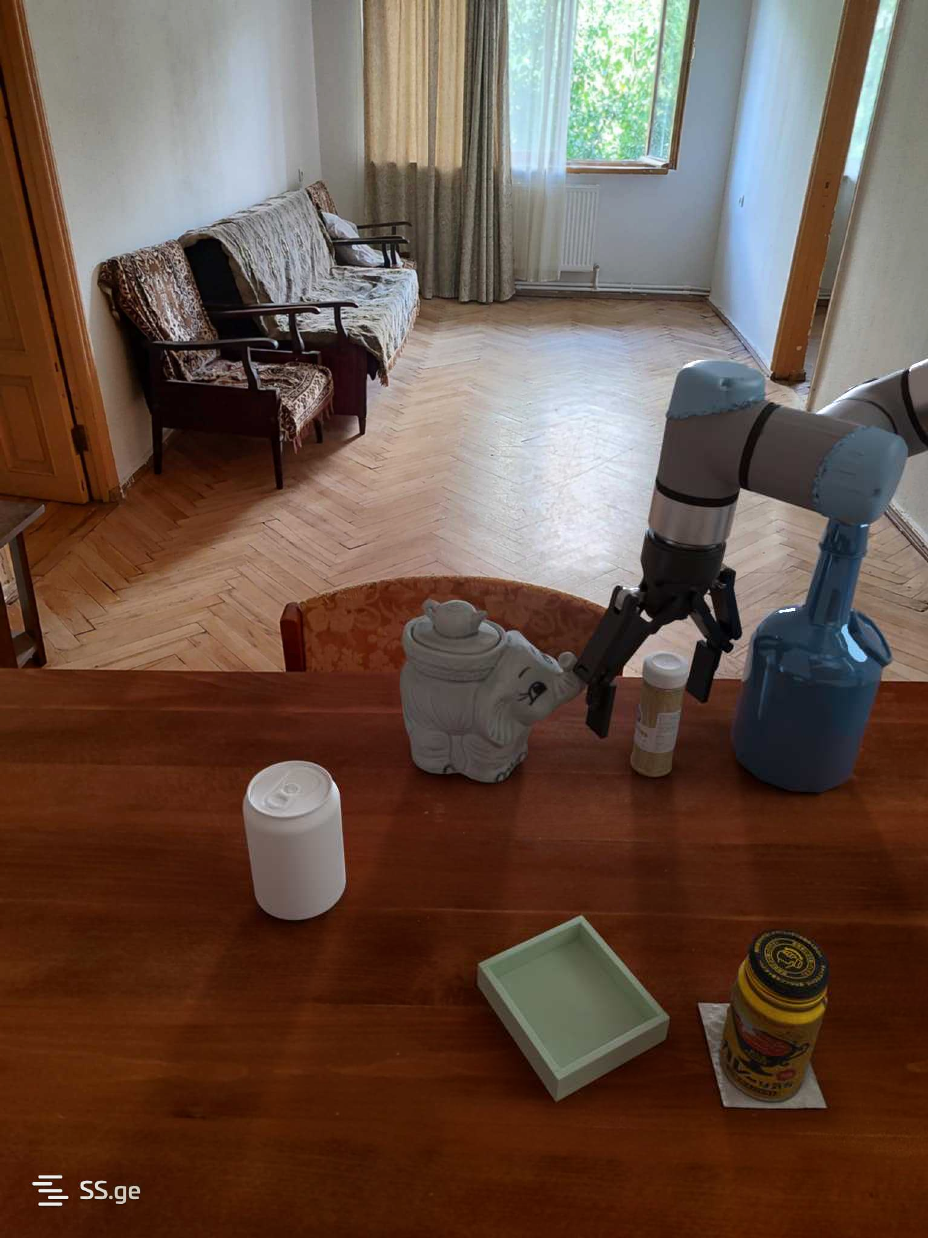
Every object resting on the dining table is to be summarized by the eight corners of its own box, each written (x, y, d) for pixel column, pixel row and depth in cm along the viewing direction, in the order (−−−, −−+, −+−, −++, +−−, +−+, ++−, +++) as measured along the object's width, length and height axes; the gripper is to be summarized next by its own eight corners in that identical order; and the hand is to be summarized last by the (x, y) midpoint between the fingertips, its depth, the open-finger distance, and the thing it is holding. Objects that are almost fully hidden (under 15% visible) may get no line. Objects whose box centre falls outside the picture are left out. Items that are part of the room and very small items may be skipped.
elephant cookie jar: (585, 777, 94) (598, 623, 84) (464, 829, 87) (464, 667, 78) (499, 701, 106) (502, 559, 97) (387, 742, 99) (379, 593, 90)
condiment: (723, 1108, 63) (753, 998, 57) (697, 1004, 70) (721, 897, 64) (826, 1110, 63) (866, 1000, 57) (789, 1006, 70) (821, 899, 64)
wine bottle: (723, 782, 94) (778, 521, 79) (731, 712, 105) (780, 472, 90) (861, 811, 90) (945, 543, 75) (854, 736, 101) (926, 489, 86)
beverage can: (363, 878, 81) (358, 777, 75) (307, 939, 75) (296, 834, 69) (295, 845, 85) (284, 746, 79) (236, 901, 79) (219, 798, 73)
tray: (665, 1039, 67) (670, 1018, 66) (555, 1102, 63) (558, 1080, 62) (579, 936, 76) (581, 914, 75) (477, 985, 71) (477, 963, 70)
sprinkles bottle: (623, 755, 97) (636, 652, 91) (661, 749, 98) (677, 647, 92) (640, 782, 94) (655, 676, 87) (679, 775, 94) (697, 670, 88)
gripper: (753, 496, 91) (710, 665, 102) (553, 539, 79) (529, 724, 90) (810, 526, 85) (758, 701, 96) (605, 576, 74) (573, 769, 85)
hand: (647, 713), depth 93 cm, fingers open, 13 cm apart
